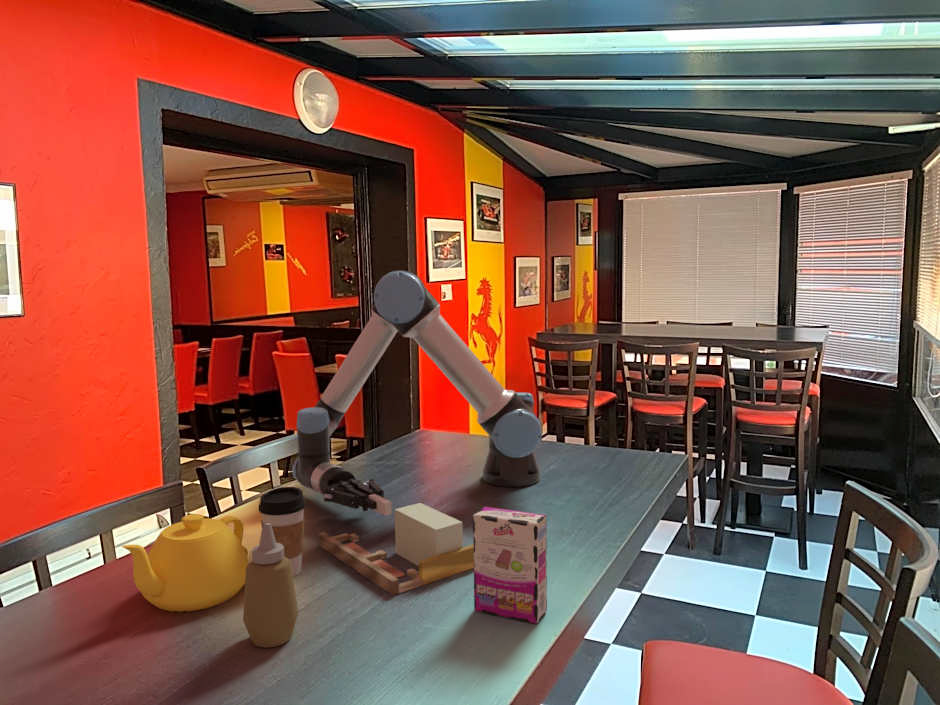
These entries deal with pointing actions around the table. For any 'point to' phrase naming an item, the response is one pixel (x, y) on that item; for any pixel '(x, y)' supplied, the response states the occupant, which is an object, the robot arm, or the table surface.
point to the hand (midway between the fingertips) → (388, 508)
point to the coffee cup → (285, 521)
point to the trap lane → (388, 575)
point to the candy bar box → (510, 564)
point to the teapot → (192, 564)
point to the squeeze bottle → (269, 593)
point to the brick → (425, 533)
